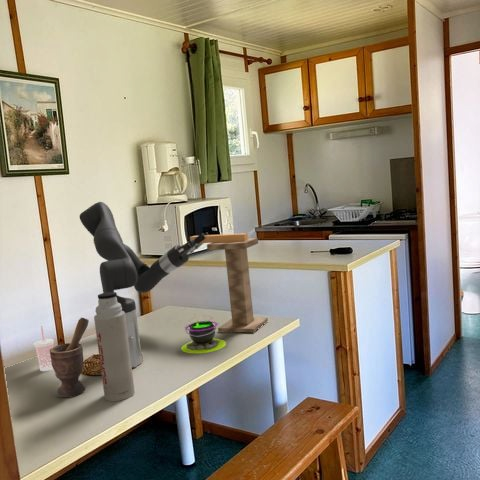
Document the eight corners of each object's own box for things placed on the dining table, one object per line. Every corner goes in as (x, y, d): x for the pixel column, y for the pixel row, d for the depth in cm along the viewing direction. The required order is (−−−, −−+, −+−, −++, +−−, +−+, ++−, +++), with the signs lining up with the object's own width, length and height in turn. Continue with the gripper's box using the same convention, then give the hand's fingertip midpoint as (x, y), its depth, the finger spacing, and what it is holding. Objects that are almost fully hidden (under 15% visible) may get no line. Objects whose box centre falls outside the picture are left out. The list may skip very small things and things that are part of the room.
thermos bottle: (105, 403, 140) (91, 298, 137) (103, 392, 148) (90, 293, 144) (136, 397, 142) (123, 293, 139) (133, 386, 150) (120, 288, 147)
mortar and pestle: (77, 381, 158) (68, 315, 156) (101, 383, 155) (92, 316, 153) (49, 397, 148) (39, 327, 146) (74, 400, 144) (64, 328, 142)
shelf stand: (214, 331, 195) (205, 245, 192) (230, 321, 208) (222, 239, 204) (254, 333, 189) (245, 243, 186) (267, 321, 202) (260, 237, 198)
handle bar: (190, 243, 200) (189, 237, 200) (194, 242, 203) (193, 235, 203) (244, 241, 191) (244, 234, 191) (248, 240, 194) (247, 233, 194)
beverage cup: (61, 366, 174) (55, 324, 172) (45, 373, 169) (39, 329, 167) (49, 364, 177) (43, 322, 175) (33, 370, 172) (27, 328, 170)
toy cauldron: (174, 353, 176) (170, 321, 174) (191, 339, 190) (188, 308, 189) (217, 354, 171) (213, 320, 170) (231, 339, 185) (228, 308, 184)
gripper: (158, 254, 200) (191, 229, 193) (177, 248, 213) (209, 224, 206) (169, 271, 199) (203, 246, 192) (187, 264, 212) (219, 240, 205)
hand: (205, 235), depth 199 cm, fingers closed on handle bar, 3 cm apart
